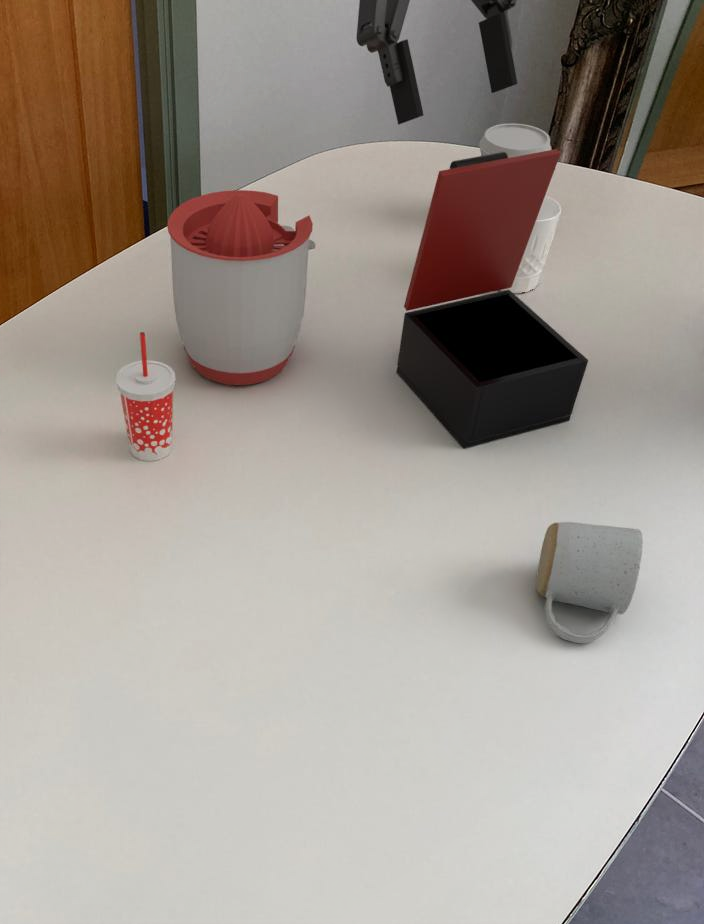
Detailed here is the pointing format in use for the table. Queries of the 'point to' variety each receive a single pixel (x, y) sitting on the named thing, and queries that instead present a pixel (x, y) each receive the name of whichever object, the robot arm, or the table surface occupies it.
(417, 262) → the box lid
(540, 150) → the disposable coffee cup
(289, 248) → the citrus juicer
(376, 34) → the robot arm
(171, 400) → the beverage cup
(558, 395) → the black box
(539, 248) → the white cup
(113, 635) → the table surface
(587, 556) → the ceramic mug
